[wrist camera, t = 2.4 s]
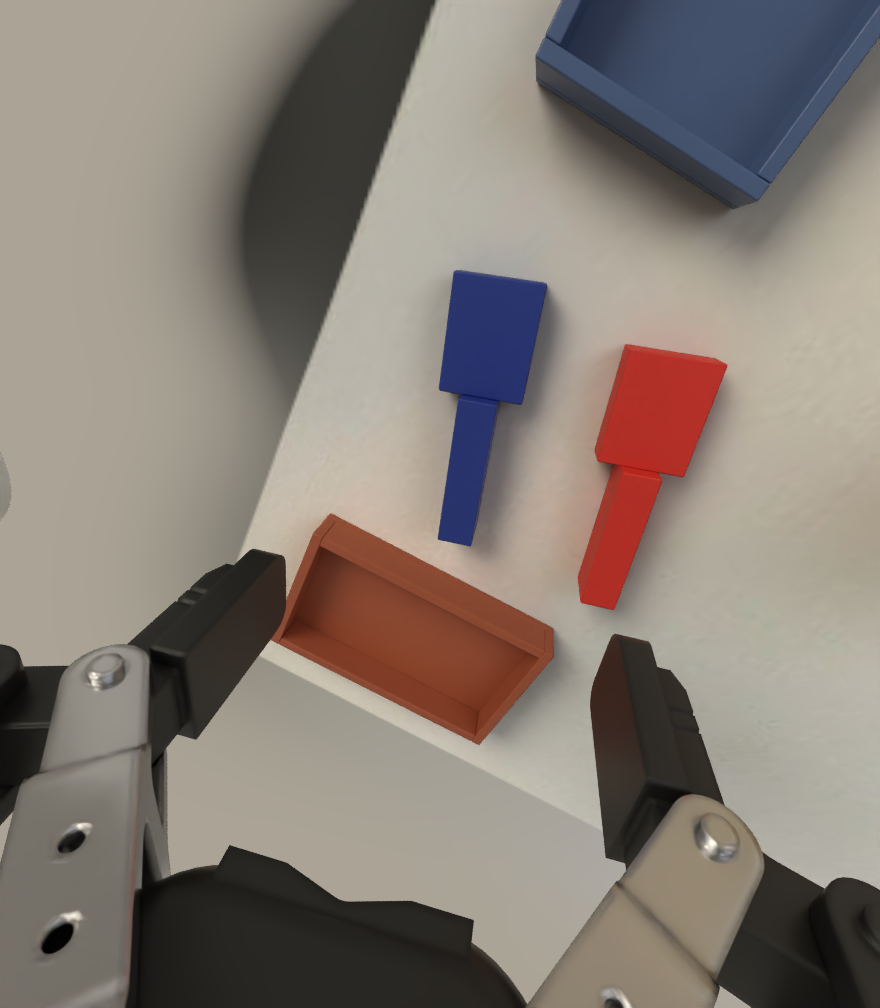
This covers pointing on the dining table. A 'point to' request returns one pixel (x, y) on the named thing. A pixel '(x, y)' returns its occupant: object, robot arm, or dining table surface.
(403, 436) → the dining table surface
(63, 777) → the robot arm
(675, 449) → the red spoon
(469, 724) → the red tray
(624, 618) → the dining table surface
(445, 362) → the blue spoon
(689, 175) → the blue tray
